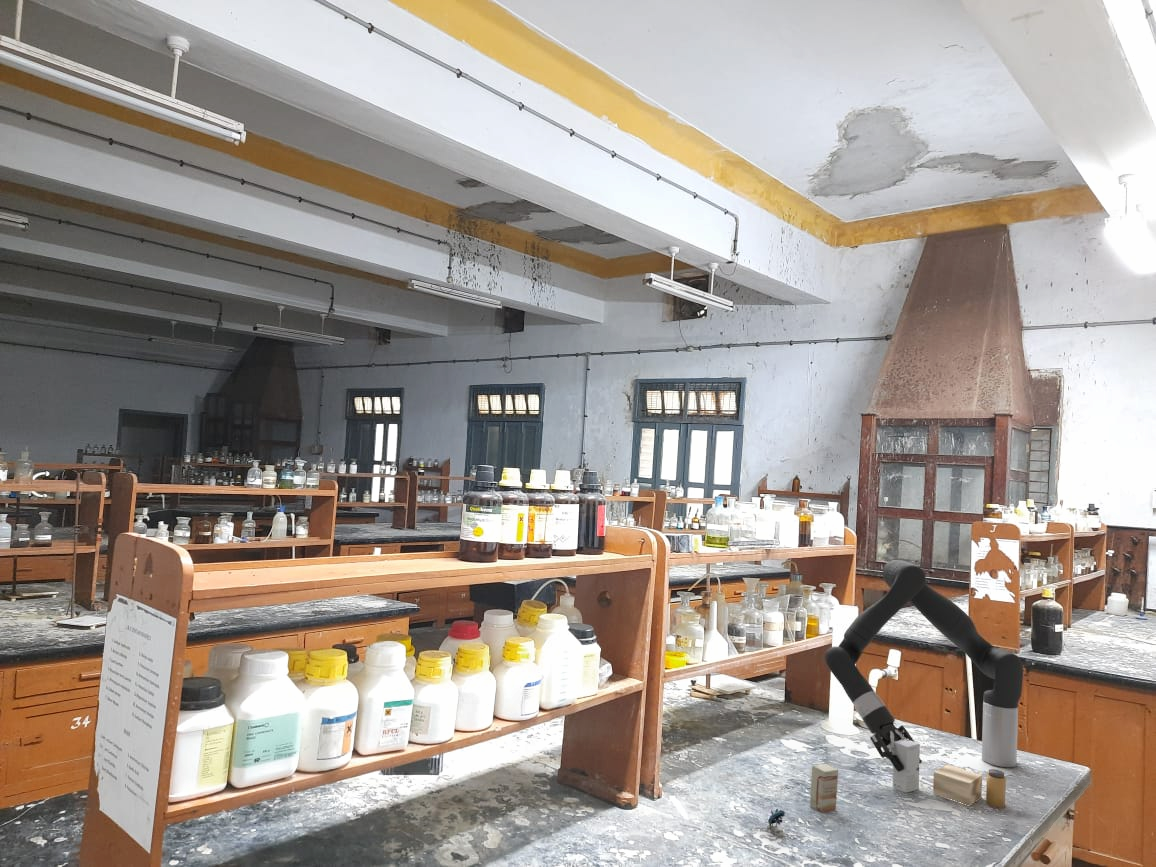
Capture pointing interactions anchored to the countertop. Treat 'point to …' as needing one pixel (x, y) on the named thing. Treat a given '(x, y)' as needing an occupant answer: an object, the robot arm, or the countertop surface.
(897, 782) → the skincare box
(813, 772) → the skincare box
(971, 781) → the beech block
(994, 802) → the amber jar
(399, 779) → the countertop surface
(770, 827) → the sculpture
